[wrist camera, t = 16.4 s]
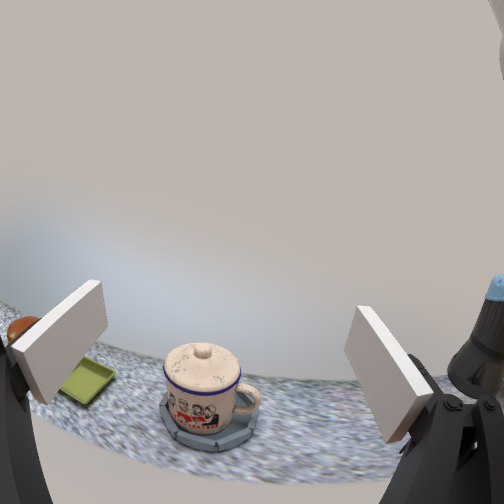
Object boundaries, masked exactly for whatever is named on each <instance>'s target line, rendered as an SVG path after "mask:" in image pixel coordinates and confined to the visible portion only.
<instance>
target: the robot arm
mask: <svg viewBox="0 0 504 504" xmlns="http://www.w3.org/2000/svg"><path fill="white" fill-rule="evenodd" d="M488 1H489V3H490V5H491V7H492V10H493V12H494V14H495V17H496V19H497V22H498V25H499V27H500V30H501V32H502V36H503V37H502V40H501V43H500V66H501V71H502V75H503V79H504V0H488ZM107 327H108V323H107V317H106V311H105V304H104V297H103V289H102V282H101V281H97V280H91V279H90V280H89V281H87V282H86V283H85V284H83V285H82V286H81V287H80V288H78V289H77V290H76V291H75V292H73V293H72V294H71V295H70V296H68V297H67V298H66V299H65V300H64V301H62V302H61V303H60V304H59V305H57V306H56V307H55V308H54V309H53V310H51V311H50V312H49V313H48V314H47V315H46V316H44V317H43V318H40V319H38V320H36V321H34V322H33V323H32V324H30V325H29V326H28V327H27V329H25V330H24V331H23V332H22V333H20V334H19V335H18V336H17V337H16V338H15V339H14V340H13V341H11V342H10V343H9V344H8V345H7V346H6V347H4V344H3V341H2V339H1V336H0V504H53V502H52V499H51V497H50V494H49V491H48V488H47V485H46V482H45V478H44V475H43V472H42V468H41V465H40V461H39V456H38V453H37V448H36V443H35V438H34V433H33V427H32V421H31V413H30V406H29V399H28V396H27V394H26V393H27V392H28V391H29V390H30V391H31V393H32V395H33V397H34V398H35V400H37V401H39V402H41V403H43V404H45V405H47V406H48V405H49V403H50V402H51V400H52V399H53V397H54V396H55V395H56V393H57V392H58V390H59V389H60V388H61V386H62V385H63V384H64V382H65V381H66V379H67V378H68V377H69V375H70V374H71V373H72V371H73V370H74V369H75V367H76V366H77V365H78V363H79V362H80V361H81V360H82V358H83V357H84V356H85V354H86V353H87V352H88V351H89V349H90V348H91V347H92V345H93V344H94V343H95V342H96V340H97V339H98V338H99V337H100V335H101V334H102V333H103V331H104V330H105V329H106V328H107ZM344 351H345V353H346V355H347V357H348V360H349V362H350V364H351V366H352V368H353V370H354V373H355V375H356V377H357V379H358V382H359V384H360V386H361V388H362V390H363V393H364V395H365V397H366V399H367V402H368V404H369V406H370V409H371V411H372V413H373V416H374V418H375V420H376V423H377V425H378V427H379V430H380V432H381V435H382V437H383V439H384V442H385V444H388V443H392V442H396V441H401V440H402V439H403V437H404V436H405V435H406V433H407V432H409V434H410V436H411V438H410V440H409V441H408V442H407V443H406V445H405V446H404V447H403V448H402V449H401V451H400V452H399V453H400V454H401V453H402V452H403V451H404V453H403V455H402V457H401V460H400V462H399V464H398V467H397V469H396V471H395V473H394V475H393V477H392V479H391V482H390V484H389V486H388V488H387V489H386V491H385V494H384V495H383V497H382V499H381V501H380V503H379V504H504V416H503V412H502V409H501V406H500V404H499V402H498V401H497V400H496V398H495V397H494V396H495V395H496V393H497V392H498V390H499V389H500V387H501V385H502V382H503V378H504V274H501V275H497V276H495V277H494V278H493V279H492V281H491V284H490V286H489V289H488V292H487V293H486V295H485V301H484V304H483V306H482V309H481V312H480V314H479V317H478V319H477V321H476V324H475V326H474V329H473V331H472V333H471V335H470V338H469V339H468V341H467V342H466V343H465V344H464V345H463V346H462V347H461V349H460V350H459V351H458V353H456V354H455V355H454V356H453V358H452V359H451V362H450V363H449V366H448V368H447V372H448V376H449V378H450V380H451V381H452V383H453V384H454V385H455V386H456V387H457V388H458V389H459V390H460V391H462V392H463V393H465V394H466V395H468V396H470V397H473V398H476V399H478V400H477V402H476V403H475V404H463V402H462V400H460V399H459V398H458V397H456V396H454V395H451V394H444V393H443V392H442V391H441V389H440V388H439V386H438V385H437V384H436V382H435V381H434V379H433V378H432V377H431V375H429V373H428V371H427V370H426V369H424V366H423V365H422V363H421V362H420V361H419V360H418V359H417V358H415V357H414V356H413V355H411V354H406V353H405V351H404V350H403V349H402V347H401V346H400V345H399V343H398V342H397V341H396V339H395V338H394V337H393V335H392V334H391V333H390V331H389V330H388V329H387V327H386V326H385V325H384V324H383V322H382V321H381V320H380V319H379V317H378V316H377V315H376V313H375V312H374V311H373V310H372V308H371V307H370V306H357V307H356V311H355V315H354V318H353V322H352V325H351V328H350V332H349V335H348V339H347V341H346V345H345V348H344ZM476 442H477V448H476V449H475V446H474V444H475V443H476Z"/></svg>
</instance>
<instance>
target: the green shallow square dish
mask: <svg viewBox="0 0 504 504" xmlns="http://www.w3.org/2000/svg"><path fill="white" fill-rule="evenodd" d="M115 373H116V372H115V371H114V370H112V369H110V368H108V367H106V366H104V365H101V364H99V363H97V362H95V361H93V360H91V359H89V358H87V357H85V356H84V357H83V358H82V360H81V361H80V362H79V363H78V365H77V366H76V367H75V369H74V370H73V371H72V373H71V374H70V375H69V377H68V378H67V379H66V381H65V382H64V384H63V385H62V386H61V388H60V390H62V391H63V392H65V393H66V394H68V395H69V396H71V397H73V398H74V399H76V400H78V401H79V402H81V403H82V404H87V403H88V402H89V401H90V400H91V399H92V398H93V397H94V396H95V395H96V394H97V393H98V392H99V391H100V390H101V389H102V388H103V387H104V386H105V385H106V384H107V383H108V382H109V381H110V380H111V379H112V378H113V376H114V375H115Z"/></svg>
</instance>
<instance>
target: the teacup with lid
mask: <svg viewBox="0 0 504 504" xmlns="http://www.w3.org/2000/svg"><path fill="white" fill-rule="evenodd" d="M163 369H164V374H165V376H166V382H167V393H168V403H169V412H170V416H171V418H172V419H173V421H174V422H175V423H176V424H177V425H178V426H179V427H180V428H182V429H183V430H185V431H188V432H190V433H194V434H201V435H207V434H213V433H216V432H219V431H221V430H223V429H224V428H226V427H227V426H228V425H229V423H230V422H231V420H232V417H233V413H237V414H249V413H252V412H254V411H255V410H256V409H257V408H258V407H259V406H260V403H261V394H260V393H259V391H258V390H257V389H255V388H254V387H252V386H250V385H247V384H242V383H238V381H239V379H240V376H241V368H240V365H239V362H238V360H237V359H236V357H235V356H234V355H233V354H232V353H230V351H228V350H226V349H225V348H223V347H220V346H218V345H214V344H210V343H201V342H200V343H199V342H198V343H189V344H184V345H181V346H179V347H177V348H175V349H174V350H172V351H171V352H170V353H169V354H168V356H167V357H166V359H165V362H164V366H163ZM236 391H237V392H242V393H245V394H248V395H250V396H251V397H252V398H253V399H254V400H255V402H254V403H253V404H251V405H249V406H239V405H235V398H236Z"/></svg>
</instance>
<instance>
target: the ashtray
mask: <svg viewBox="0 0 504 504" xmlns="http://www.w3.org/2000/svg"><path fill="white" fill-rule="evenodd" d="M254 402H255V400H254V399H253V398H252V397H251V396H250V395H248V394H245V393H242V392H237V391H236V398H235V405H239V406H249V405H251V404H253V403H254ZM159 406H160V407H159V409H160V414H161V416H162V418H163V420H164V422H165V425H166V427H167V429H168V431H169V432H170V434H171V435H172V436H173V437H174V438H175V439H176V440H178V441H179V442H180V443H182V444H184V445H186V446H188V447H190V448H193V449H196V450H200V451H206V452H219V451H225V450H229V449H232V448H235V447H237V446H239V445H240V444H242V443H243V442H245V441H246V440H247V439H249V438H250V437H251V435H253V431H254V427H255V423H256V418H257V413H258V409H259V407H258V408H257V409H256V410H255V411H254V412H252V413H249V414H237V413H233V417H232V420H231V422H230V423H229V425H228V426H227V427H226V428H224V429H223V430H221V431H219V432H216V433H213V434H207V435H201V434H194V433H190V432H188V431H185V430H183V429H182V428H180V427H179V426H178V425H177V424H176V423H175V422H174V421H173V419H172V418H171V416H170V412H169V403H168V393H167V392H166V394H165V396H164V397H163V399H162V400H161V402H160V404H159Z"/></svg>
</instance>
